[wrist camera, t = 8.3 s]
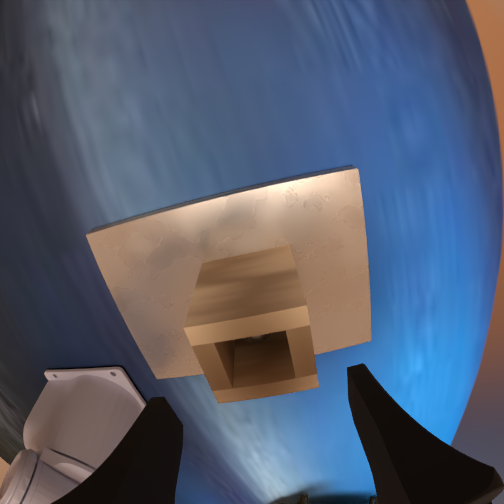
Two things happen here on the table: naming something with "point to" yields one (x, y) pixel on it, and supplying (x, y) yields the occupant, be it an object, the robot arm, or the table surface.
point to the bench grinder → (307, 498)
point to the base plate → (238, 243)
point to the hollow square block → (252, 326)
